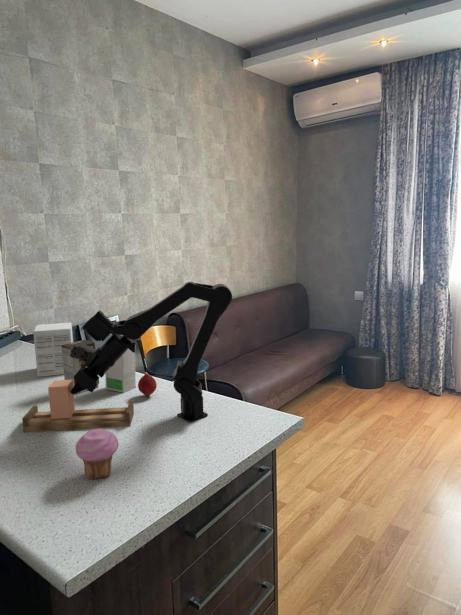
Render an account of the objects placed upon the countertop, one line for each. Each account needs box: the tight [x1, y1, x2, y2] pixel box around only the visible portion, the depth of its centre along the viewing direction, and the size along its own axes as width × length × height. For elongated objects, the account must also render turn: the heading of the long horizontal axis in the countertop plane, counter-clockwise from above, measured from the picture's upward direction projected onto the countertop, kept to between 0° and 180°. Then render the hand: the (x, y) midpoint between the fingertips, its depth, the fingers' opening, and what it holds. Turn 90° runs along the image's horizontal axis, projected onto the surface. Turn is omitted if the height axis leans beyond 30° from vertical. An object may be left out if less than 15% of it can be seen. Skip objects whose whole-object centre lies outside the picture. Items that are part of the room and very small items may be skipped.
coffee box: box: [61, 339, 99, 396], centre depth 152 cm, size 9×6×16 cm
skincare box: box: [104, 349, 137, 394], centre depth 152 cm, size 8×7×16 cm
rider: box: [47, 379, 76, 419], centre depth 124 cm, size 5×6×10 cm
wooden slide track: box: [21, 400, 135, 433], centre depth 126 cm, size 28×9×4 cm, turn 95°
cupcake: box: [75, 428, 119, 480], centre depth 98 cm, size 9×9×10 cm
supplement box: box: [32, 322, 74, 378], centre depth 174 cm, size 13×13×18 cm
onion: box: [137, 372, 158, 397], centre depth 144 cm, size 6×6×8 cm
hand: (71, 393), depth 124 cm, fingers closed, pressing on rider
